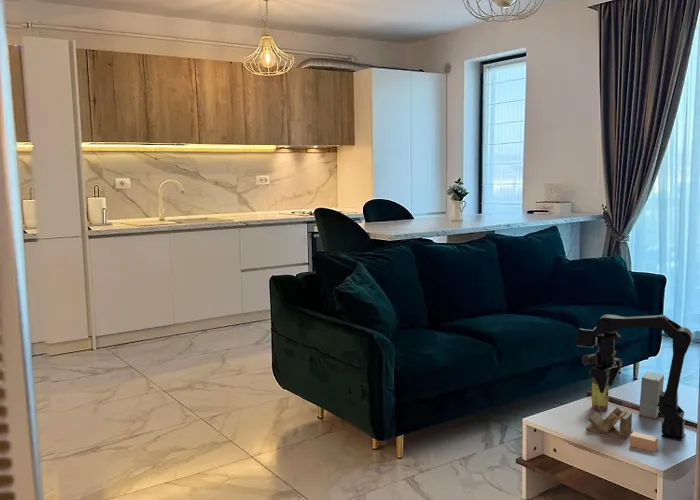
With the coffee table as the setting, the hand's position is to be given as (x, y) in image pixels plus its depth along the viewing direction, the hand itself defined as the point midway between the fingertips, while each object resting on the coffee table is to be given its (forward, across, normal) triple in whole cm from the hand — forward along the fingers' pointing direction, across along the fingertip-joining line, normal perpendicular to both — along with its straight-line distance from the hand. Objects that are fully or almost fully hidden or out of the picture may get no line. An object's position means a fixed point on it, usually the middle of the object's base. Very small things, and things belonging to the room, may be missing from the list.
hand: (606, 389), depth 239 cm
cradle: (+14, +6, +3) cm, 15 cm away
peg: (+14, +12, +17) cm, 25 cm away
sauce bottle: (+14, -15, -8) cm, 22 cm away
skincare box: (+14, -21, +10) cm, 27 cm away
